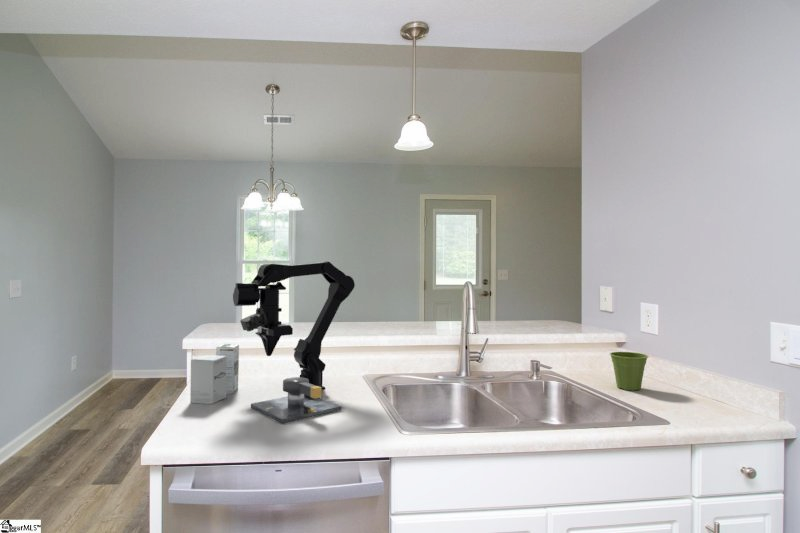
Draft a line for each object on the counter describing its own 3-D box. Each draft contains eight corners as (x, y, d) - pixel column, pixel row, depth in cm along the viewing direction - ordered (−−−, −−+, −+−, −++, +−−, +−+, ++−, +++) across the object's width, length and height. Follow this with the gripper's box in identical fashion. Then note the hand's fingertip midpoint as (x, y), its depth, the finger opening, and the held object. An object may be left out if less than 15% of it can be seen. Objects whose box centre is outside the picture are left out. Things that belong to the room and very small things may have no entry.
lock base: (306, 396, 149) (307, 379, 149) (341, 410, 135) (341, 391, 135) (250, 407, 137) (250, 389, 136) (282, 424, 123) (282, 403, 123)
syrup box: (219, 389, 156) (220, 343, 156) (238, 389, 157) (239, 343, 156) (214, 394, 150) (215, 346, 150) (234, 393, 151) (234, 346, 151)
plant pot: (636, 383, 169) (637, 351, 169) (655, 393, 157) (656, 358, 157) (602, 383, 169) (603, 351, 169) (619, 392, 157) (619, 357, 157)
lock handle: (278, 389, 136) (278, 379, 136) (300, 385, 141) (300, 376, 141) (306, 400, 125) (306, 390, 125) (329, 395, 130) (329, 385, 130)
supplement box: (212, 404, 139) (213, 360, 139) (189, 402, 141) (189, 359, 141) (227, 397, 147) (227, 355, 146) (204, 396, 148) (204, 354, 148)
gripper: (231, 303, 151) (230, 354, 151) (258, 308, 137) (257, 364, 137) (264, 302, 159) (264, 350, 159) (293, 306, 145) (293, 359, 145)
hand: (268, 355), depth 150 cm, fingers closed
